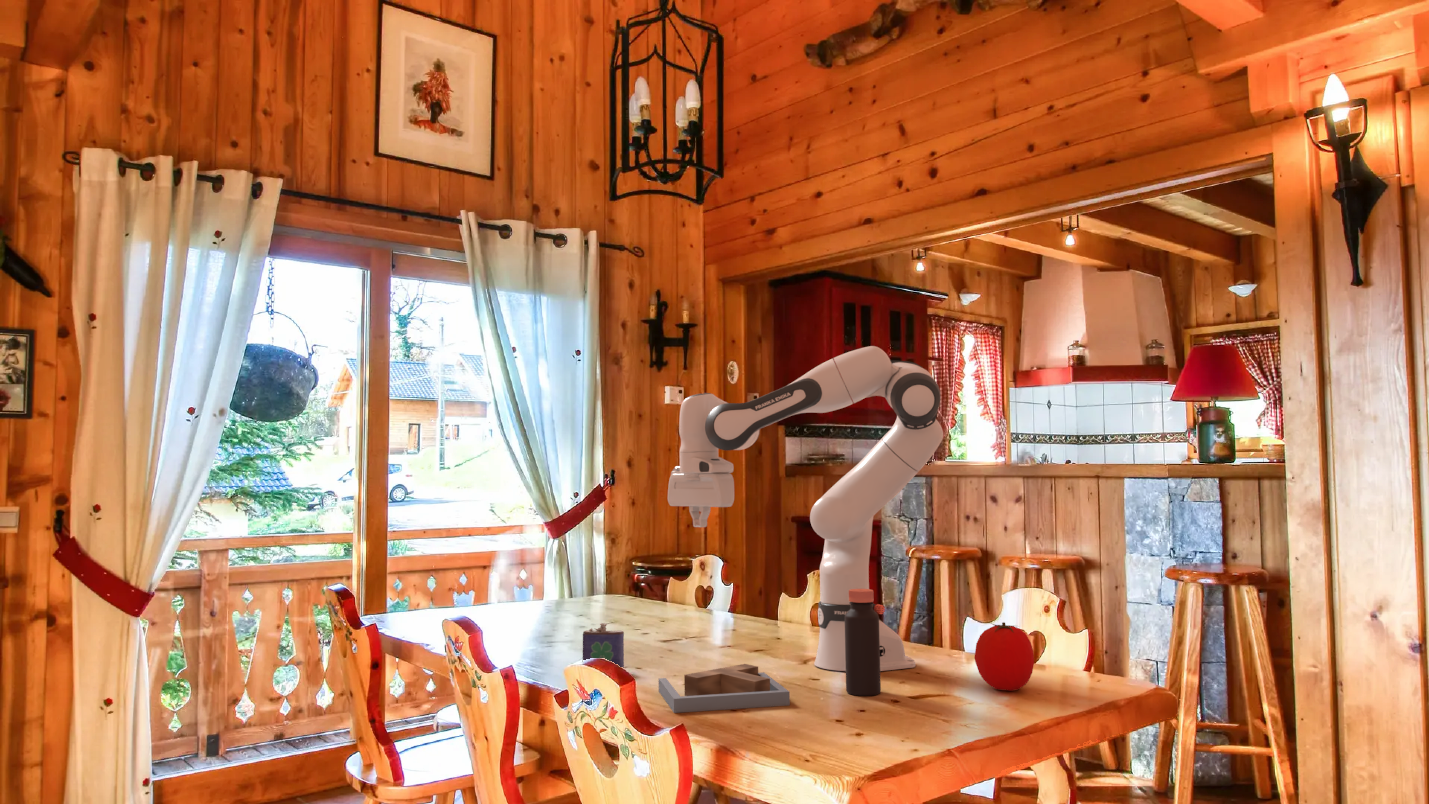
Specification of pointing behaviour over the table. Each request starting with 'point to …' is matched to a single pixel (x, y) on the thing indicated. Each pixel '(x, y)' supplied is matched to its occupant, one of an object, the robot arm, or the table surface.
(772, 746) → the table surface
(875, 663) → the bottle
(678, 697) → the corral
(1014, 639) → the tomato
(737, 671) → the t block
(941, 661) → the table surface
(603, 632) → the flask
